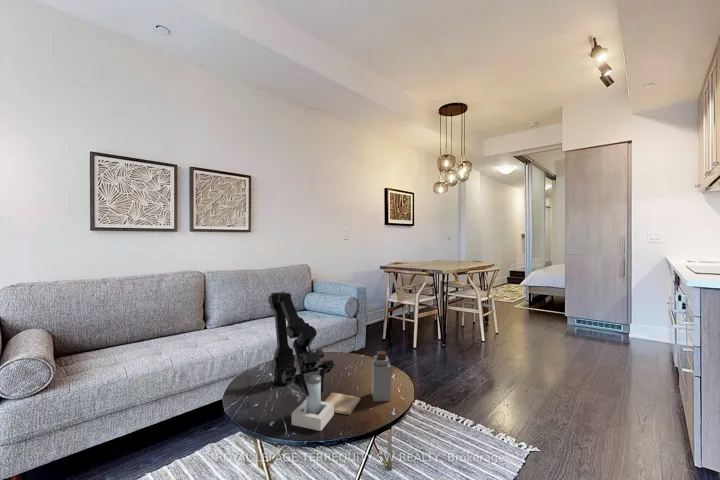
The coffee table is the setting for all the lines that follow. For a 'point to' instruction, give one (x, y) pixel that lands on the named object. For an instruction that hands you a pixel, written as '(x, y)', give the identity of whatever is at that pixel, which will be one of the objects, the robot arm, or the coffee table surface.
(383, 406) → the coffee table surface
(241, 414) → the coffee table surface
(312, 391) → the cylinder
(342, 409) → the board
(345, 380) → the coffee table surface
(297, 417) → the box
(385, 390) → the perfume bottle
